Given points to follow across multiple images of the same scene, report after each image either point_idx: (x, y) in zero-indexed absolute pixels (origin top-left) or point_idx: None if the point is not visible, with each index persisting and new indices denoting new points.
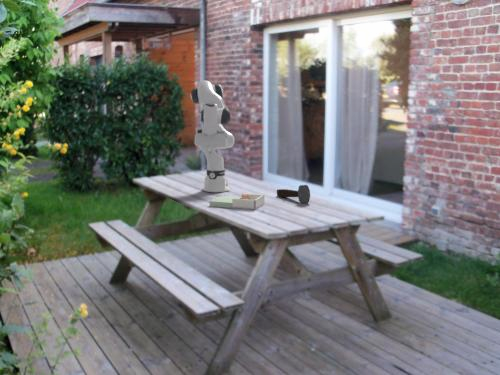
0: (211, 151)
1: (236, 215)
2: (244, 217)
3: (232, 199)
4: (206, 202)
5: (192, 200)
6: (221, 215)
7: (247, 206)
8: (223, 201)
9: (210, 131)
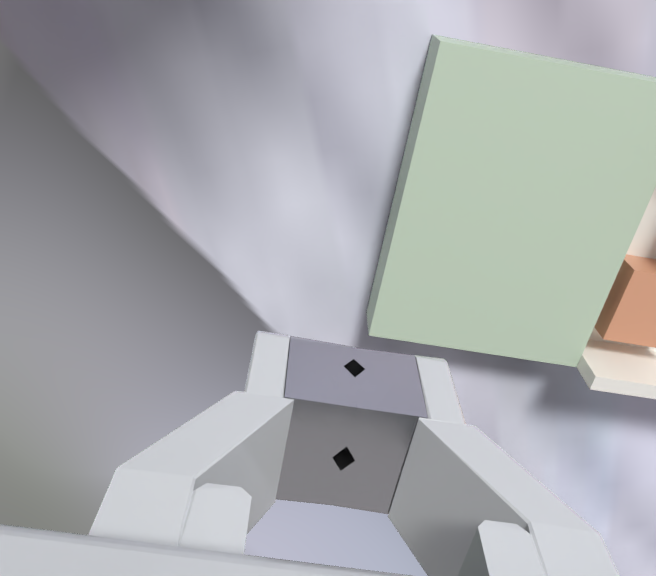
0: (378, 492)
1: None
2: (633, 565)
3: (588, 384)
4: (302, 156)
5: (131, 77)
6: None
7: None
8: (495, 327)
9: None
